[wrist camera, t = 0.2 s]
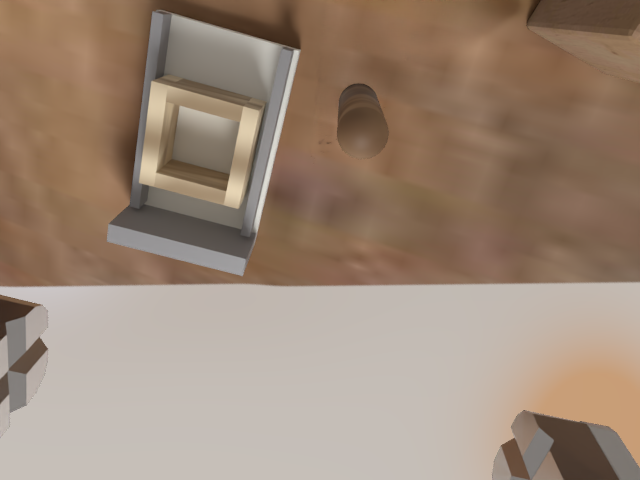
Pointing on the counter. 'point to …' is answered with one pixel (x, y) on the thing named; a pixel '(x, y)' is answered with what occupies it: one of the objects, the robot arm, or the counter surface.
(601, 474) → the robot arm
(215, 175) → the socket block
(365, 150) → the dowel
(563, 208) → the counter surface
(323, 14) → the counter surface
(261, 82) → the rail base
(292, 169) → the counter surface
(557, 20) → the wooden block
